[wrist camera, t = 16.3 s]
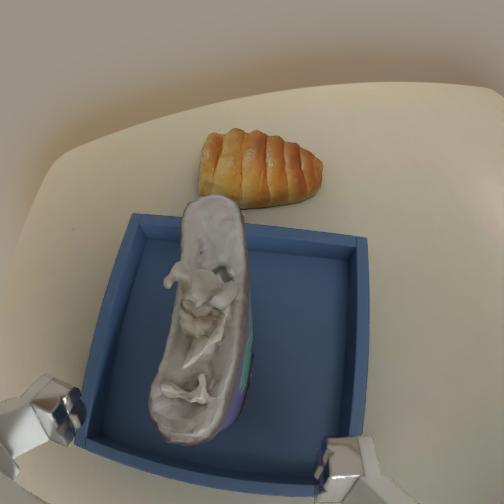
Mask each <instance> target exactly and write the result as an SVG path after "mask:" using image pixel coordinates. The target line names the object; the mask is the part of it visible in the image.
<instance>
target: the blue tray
mask: <svg viewBox="0 0 504 504" xmlns="http://www.w3.org/2000/svg"><path fill="white" fill-rule="evenodd" d="M181 219H182V217H173V216H162V215H150V214H136V213H133V214H132V216H131V219H130V221H129V224H128V227H127V229H126V232H125V235H124V238H123V240H122V243H121V246H120V249H119V252H118V255H117V258H116V261H115V264H114V267H113V270H112V273H111V276H110V279H109V283H108V286H107V289H106V292H105V296H104V299H103V303H102V306H101V310H100V314H99V317H98V321H97V325H96V329H95V333H94V337H93V341H92V345H91V349H90V354H89V358H88V363H87V367H86V372H85V377H84V382H83V387H82V393H81V401H82V402H83V403H84V404H85V407H86V412H87V415H86V419H85V422H84V424H83V425H82V427H80V428H78V429H76V432H75V440H74V445H76V446H78V447H81V448H83V449H86V450H88V451H90V452H92V453H95V454H97V455H100V456H102V457H105V458H107V459H110V460H113V461H115V462H118V463H121V464H124V465H127V466H130V467H133V468H136V469H139V470H142V471H145V472H149V473H152V474H155V475H159V476H163V477H166V478H170V479H174V480H178V481H182V482H187V483H191V484H196V485H201V486H206V487H211V488H217V489H223V490H229V491H236V492H243V493H252V494H261V495H273V496H290V497H314V486H315V484H316V482H317V479H316V478H315V477H314V461H315V456H316V453H317V451H318V450H319V449H321V441H322V439H323V437H324V436H350V435H355V436H362V431H363V422H364V412H365V402H366V390H367V375H368V356H369V263H368V243H367V238H365V237H355V236H351V235H343V234H335V233H326V232H318V231H310V230H301V229H293V228H284V227H275V226H266V225H256V224H247V223H245V232H246V239H247V246H248V253H249V268H250V284H251V289H250V294H251V303H252V317H253V354H254V357H253V358H254V359H253V364H252V368H253V370H252V373H251V374H252V377H251V379H250V383H251V384H250V388H249V391H248V394H247V400H246V404H245V407H244V409H243V410H242V413H241V416H240V417H239V419H238V420H237V421H236V422H235V423H234V424H232V425H230V426H229V427H227V428H226V429H224V430H222V431H221V432H219V433H218V434H216V436H214V438H213V439H211V440H209V441H207V442H205V443H201V444H198V445H191V446H181V445H179V444H177V443H167V442H166V441H165V439H164V438H163V436H162V435H161V434H160V433H159V432H158V431H157V430H156V428H155V426H154V424H153V420H152V418H151V417H150V412H149V407H148V401H149V394H150V391H151V384H152V381H153V379H154V377H155V375H156V373H157V371H158V368H159V365H160V362H161V359H162V357H163V354H164V351H165V346H166V341H167V338H168V334H169V330H170V325H171V317H172V313H173V308H174V302H175V295H176V288H177V281H175V282H174V283H173V285H172V286H171V288H170V289H166V288H165V286H164V285H163V283H164V278H166V277H167V276H168V275H169V274H170V272H171V269H172V268H173V266H174V265H175V263H177V262H179V261H180V222H181Z"/></svg>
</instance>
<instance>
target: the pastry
mask: <svg viewBox="0 0 504 504" xmlns="http://www.w3.org/2000/svg"><path fill="white" fill-rule="evenodd" d="M322 170H323V163H322V161H320V160H319V159H318V158H316V157H315V156H314V154H312V153H311V152H309V151H307V150H305V149H303V148H301V147H300V146H299V145H298V144H297V143H290V142H285V141H284V140H283V139H282V138H281V137H280V136H268V135H266V134H264V133H262V132H260V131H258V130H255V131H252V132H251V133H249V134H248V133H245V132H244V131H243V130H240V129H237V128H234V129H232V130H230V131H229V132H228V133H227V134H225V135H222V134H217V133H211V134H209V135H208V137H207V139H206V141H205V143H204V146H203V148H202V160H201V162H200V172H199V187H198V191H199V193H200V194H201V195H202V196H207V195H210V194H217V195H221V196H225V197H227V198H230V199H232V200H233V201H235V202H236V203H237V204H238V206H239V208H241V209H247V208H259V207H271V206H276V205H279V206H281V205H287V204H292V203H296V202H301V201H303V200H305V199H307V198H309V197H312V196H314V195H315V194H316V193H317V192H318V191H319V189H320V188H321V182H322Z"/></svg>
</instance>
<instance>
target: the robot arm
mask: <svg viewBox="0 0 504 504" xmlns="http://www.w3.org/2000/svg"><path fill="white" fill-rule="evenodd" d="M80 397H81V393H80V390H79V388H76V387H74V386H71V385H69V384H67V383H64V382H62V381H60V380H58V379H56V378H53V377H51V376H49V375H47V374H44V375H41V376H40V377H39V378H38V379H37V380H36V381H35V382H34V383H33V384H32V385H31V386H30V387H29V389H28V390H27V391H26V392H25V393H24V394H23V395H22V396H21V397H20V398H18V397H15V398H11V399H8V400H5V401H2V402H0V504H49V503H47V502H45V501H43V500H42V499H40V498H39V497H37V496H35V495H34V494H32V493H31V492H29V491H28V490H26V489H25V488H23V487H22V486H20V485H19V484H17V483H16V482H14V481H13V480H14V478H15V477H16V475H17V474H18V472H19V471H20V468H19V466H18V465H17V464H16V462H15V461H14V460H13V458H15V457H17V456H19V455H21V454H23V453H25V452H27V451H29V450H31V449H33V448H35V447H37V446H39V445H41V444H43V443H45V442H47V441H49V439H51V440H53V441H55V442H57V443H59V444H61V445H63V446H65V447H68V446H69V444H70V443H71V441H72V440H73V438H74V437H75V430H76V429H78V428H80V427H82V425H83V424H84V422H85V419H86V415H87V412H86V407H85V404H84V403H83V402H82V401H81V399H80ZM314 477H315V478H316V479H317V482H316V484H315V486H314V503H341V504H419V503H418V502H417V501H415V500H414V499H413V498H412V497H411V496H410V495H408V494H407V493H406V492H405V491H404V490H403V489H402V488H400V487H399V486H398V485H397V484H396V483H395V482H394V481H393V480H391V479H390V478H389V477H388V476H387V475H382V474H381V470H380V465H379V461H378V456H377V452H376V448H375V443H374V439H373V437H372V436H371V435H362V436H355V435H350V436H324V437H323V439H322V441H321V449H319V450H318V451H317V453H316V456H315V461H314Z"/></svg>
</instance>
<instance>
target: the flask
mask: <svg viewBox="0 0 504 504" xmlns="http://www.w3.org/2000/svg"><path fill="white" fill-rule="evenodd" d="M175 281H177V288H176V295H175V302H174V308H173V313H172V317H171V325H170V330H169V334H168V338H167V341H166V346H165V351H164V354H163V357H162V359H161V362H160V365H159V368H158V371H157V373H156V375H155V377H154V379H153V381H152V384H151V391H150V394H149V401H148V407H149V412H150V417H151V418H152V420H153V424H154V426H155V428H156V430H157V431H158V432H159V433H160V434H161V435H162V436H163V438H164V439H165V441H166V442H167V443H177V444H179V445H181V446H191V445H198V444H201V443H205V442H207V441H209V440H211V439H213V438H214V436H216V434H218V433H219V432H221V431H222V430H224V429H226V428H227V427H229V426H230V425H232V424H234V423H235V422H236V421H237V420H238V419H239V417H240V416H241V413H242V410H243V409H244V407H245V404H246V400H247V394H248V391H249V388H250V384H251V383H250V379H251V377H252V374H251V373H252V370H253V368H252V364H253V359H254V358H253V357H254V354H253V317H252V303H251V294H250V289H251V284H250V268H249V253H248V246H247V239H246V232H245V223H244V217H243V215H242V214H241V210H240V208H239V206H238V204H237V203H236V202H235V201H233V200H232V199H230V198H227V197H225V196H221V195H217V194H210V195H207V196H203V197H200V198H198V199H197V200H195V201H193V202H190V203H188V205H187V207H186V209H185V210H184V213H183V216H182V219H181V222H180V261H179V262H177V263H175V265H174V266H173V268H172V269H171V272H170V274H169V275H168V276H167V277H166V278H164V283H163V285H164V286H165V288H166V289H170V288H171V286H172V285H173V283H174V282H175Z"/></svg>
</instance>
